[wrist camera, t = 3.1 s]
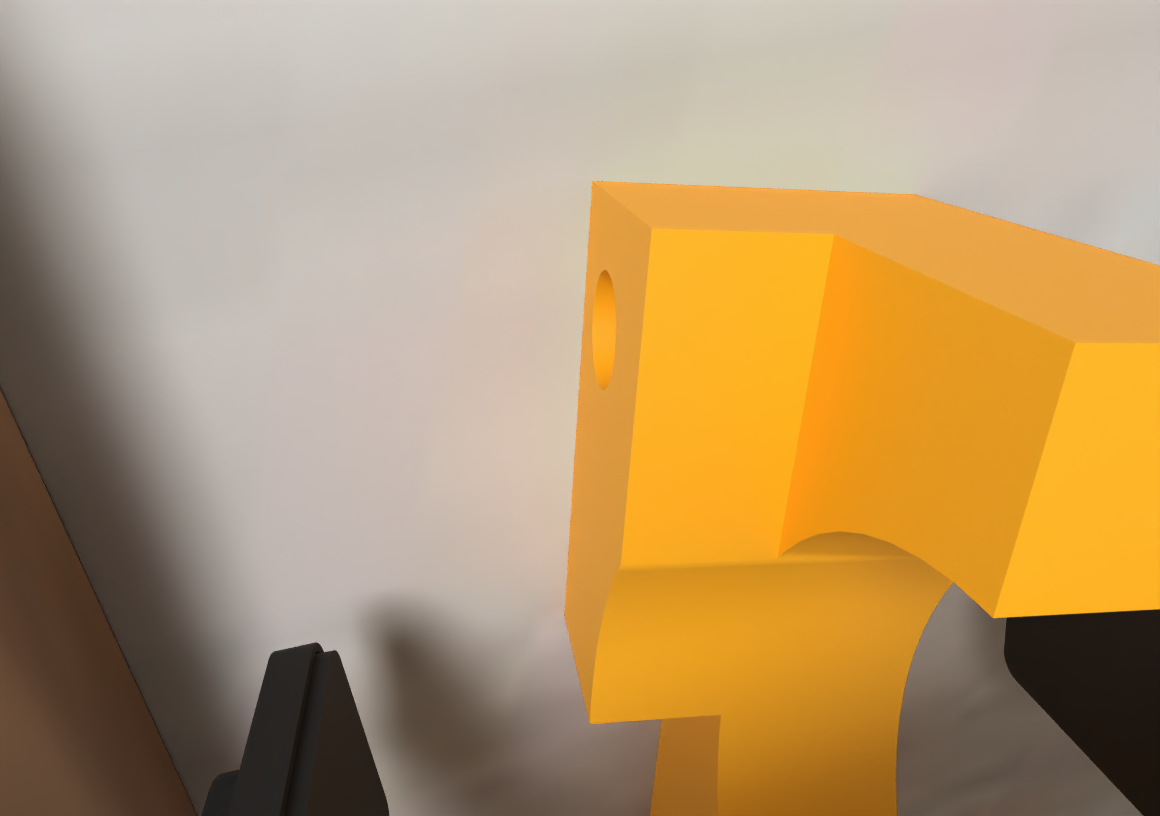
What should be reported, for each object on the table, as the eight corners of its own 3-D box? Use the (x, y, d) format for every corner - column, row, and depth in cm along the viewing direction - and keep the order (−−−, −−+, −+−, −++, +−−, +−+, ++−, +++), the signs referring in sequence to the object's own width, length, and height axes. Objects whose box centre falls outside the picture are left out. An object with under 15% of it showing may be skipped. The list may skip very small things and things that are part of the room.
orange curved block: (589, 178, 10) (791, 340, 5) (909, 192, 11) (1434, 345, 5) (546, 866, 15) (620, 1388, 9) (775, 843, 16) (979, 1314, 10)
